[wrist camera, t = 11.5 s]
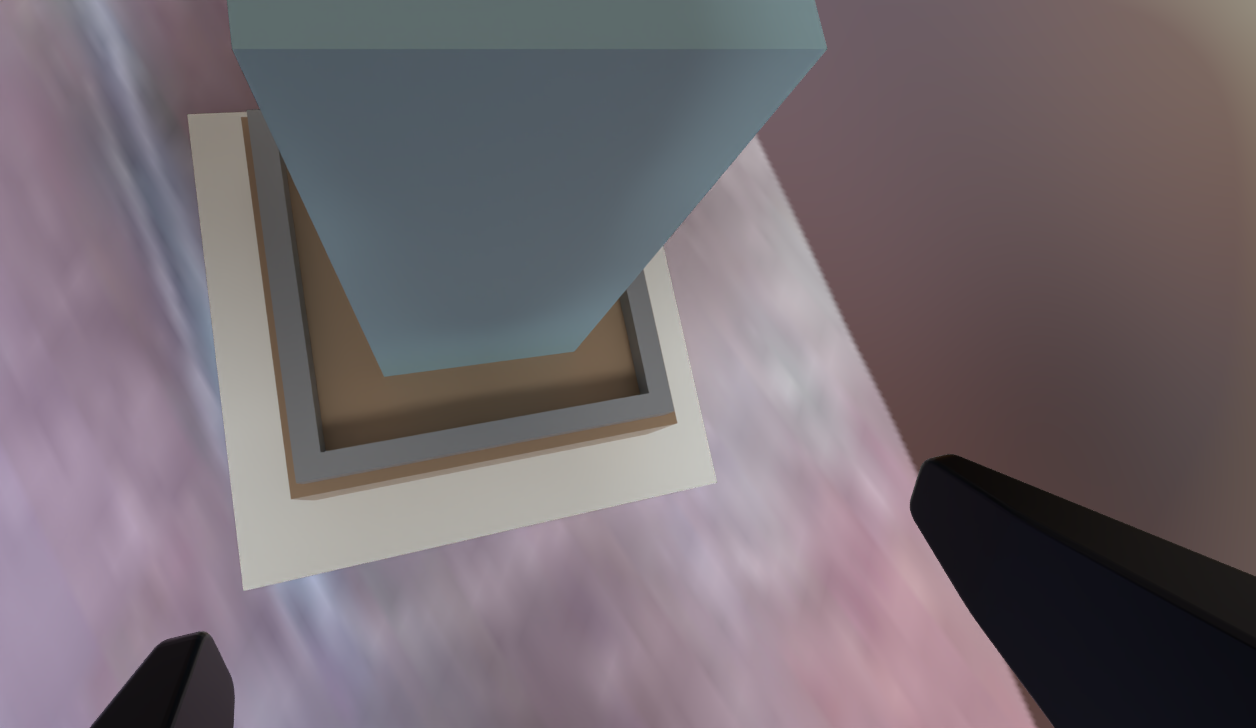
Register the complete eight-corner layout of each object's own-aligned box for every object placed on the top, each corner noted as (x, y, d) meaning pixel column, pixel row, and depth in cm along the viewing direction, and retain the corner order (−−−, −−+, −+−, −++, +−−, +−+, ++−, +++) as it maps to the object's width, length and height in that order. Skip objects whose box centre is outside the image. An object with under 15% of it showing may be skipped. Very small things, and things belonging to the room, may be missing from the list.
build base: (705, 483, 23) (769, 478, 18) (253, 586, 19) (193, 612, 14) (622, 111, 25) (661, 23, 21) (199, 132, 21) (131, 28, 17)
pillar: (574, 351, 19) (827, 48, 6) (383, 376, 17) (231, 49, 5) (544, 183, 19) (717, -377, 7) (360, 194, 18) (176, -485, 6)
